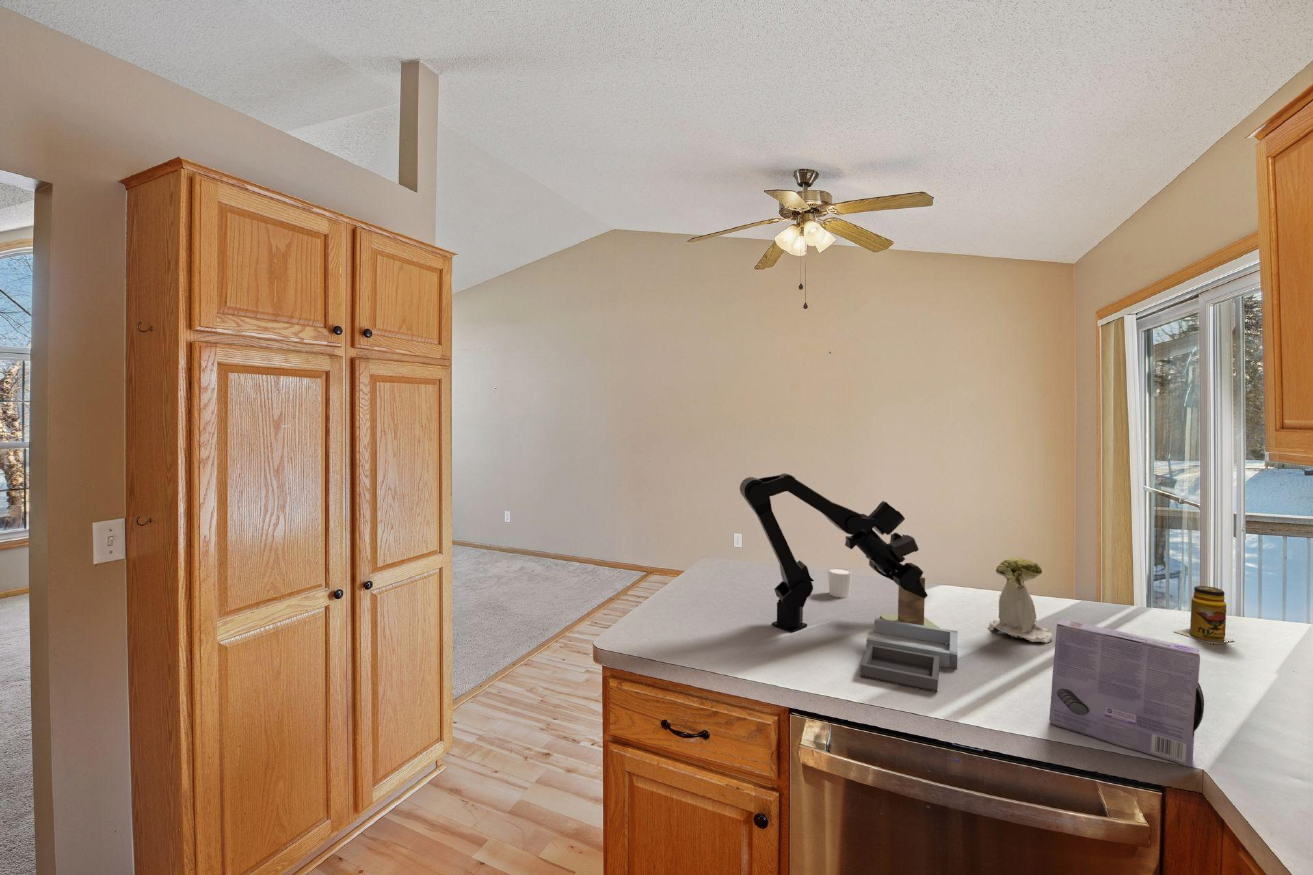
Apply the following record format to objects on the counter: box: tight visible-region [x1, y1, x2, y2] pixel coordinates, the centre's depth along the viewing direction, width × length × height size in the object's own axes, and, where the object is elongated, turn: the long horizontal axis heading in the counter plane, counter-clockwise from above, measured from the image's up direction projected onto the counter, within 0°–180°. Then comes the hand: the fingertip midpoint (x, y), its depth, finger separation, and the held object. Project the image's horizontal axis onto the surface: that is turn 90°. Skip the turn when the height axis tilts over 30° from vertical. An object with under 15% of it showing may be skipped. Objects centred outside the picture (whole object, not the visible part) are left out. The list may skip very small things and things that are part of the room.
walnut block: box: [897, 575, 926, 626], centre depth 145 cm, size 4×4×12 cm
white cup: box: [827, 567, 853, 599], centre depth 170 cm, size 7×7×7 cm
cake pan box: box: [1048, 618, 1205, 768], centre depth 94 cm, size 19×5×18 cm, turn 48°
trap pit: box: [859, 644, 940, 693], centre depth 119 cm, size 14×12×2 cm
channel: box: [865, 617, 959, 670], centre depth 131 cm, size 18×15×3 cm
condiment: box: [1172, 585, 1236, 645], centre depth 138 cm, size 7×8×12 cm
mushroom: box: [988, 557, 1053, 644], centre depth 139 cm, size 12×13×18 cm
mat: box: [879, 614, 940, 628], centre depth 146 cm, size 11×11×1 cm
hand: (916, 591), depth 145 cm, fingers open, 9 cm apart
